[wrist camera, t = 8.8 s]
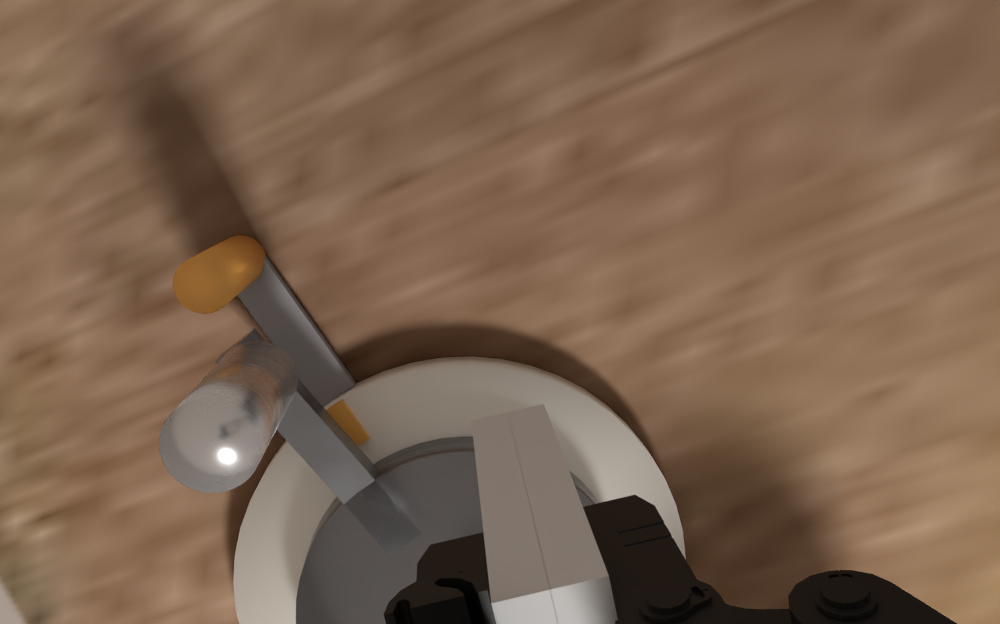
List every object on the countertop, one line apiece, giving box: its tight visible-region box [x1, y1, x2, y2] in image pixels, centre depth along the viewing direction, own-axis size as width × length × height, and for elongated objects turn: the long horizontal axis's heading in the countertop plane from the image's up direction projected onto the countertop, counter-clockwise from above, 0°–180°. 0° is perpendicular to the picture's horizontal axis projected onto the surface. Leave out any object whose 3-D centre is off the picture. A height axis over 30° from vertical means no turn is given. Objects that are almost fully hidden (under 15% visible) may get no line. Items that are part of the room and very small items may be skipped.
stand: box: [173, 235, 686, 624], centre depth 34 cm, size 20×27×6 cm
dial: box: [159, 329, 599, 624], centre depth 31 cm, size 22×14×9 cm, turn 37°
